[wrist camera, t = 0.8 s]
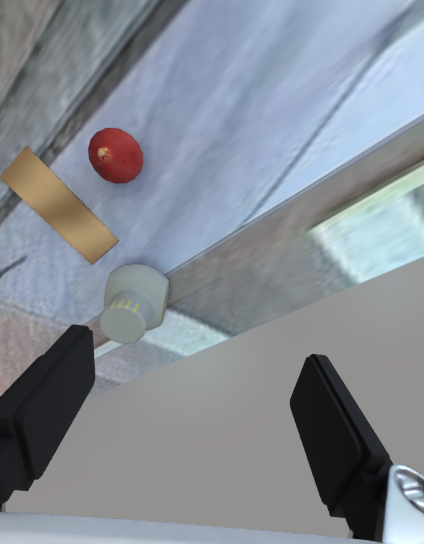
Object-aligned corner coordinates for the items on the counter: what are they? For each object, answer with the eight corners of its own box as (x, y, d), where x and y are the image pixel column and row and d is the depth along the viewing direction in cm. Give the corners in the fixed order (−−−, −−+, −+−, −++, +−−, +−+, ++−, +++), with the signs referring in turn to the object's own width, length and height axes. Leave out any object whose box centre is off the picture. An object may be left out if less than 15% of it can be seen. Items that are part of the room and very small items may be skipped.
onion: (130, 191, 32) (106, 196, 25) (96, 158, 31) (59, 153, 23) (158, 159, 31) (141, 155, 23) (123, 122, 29) (93, 105, 22)
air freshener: (119, 253, 36) (87, 280, 27) (173, 263, 36) (159, 293, 27) (116, 313, 40) (87, 354, 31) (164, 321, 41) (150, 364, 31)
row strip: (1, 177, 32) (-1, 177, 31) (27, 146, 30) (25, 146, 30) (92, 263, 36) (92, 264, 36) (119, 240, 35) (118, 241, 35)
